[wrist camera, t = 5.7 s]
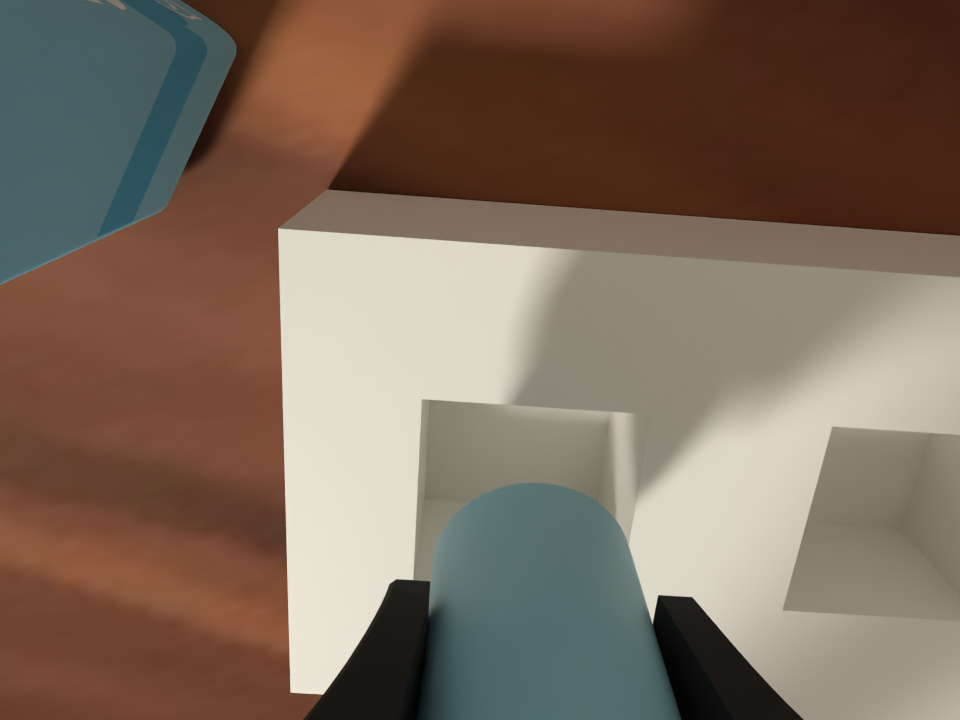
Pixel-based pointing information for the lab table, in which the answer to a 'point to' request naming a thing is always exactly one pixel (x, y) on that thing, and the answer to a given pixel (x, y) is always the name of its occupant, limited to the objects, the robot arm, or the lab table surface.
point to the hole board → (637, 422)
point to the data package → (97, 117)
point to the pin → (539, 615)
